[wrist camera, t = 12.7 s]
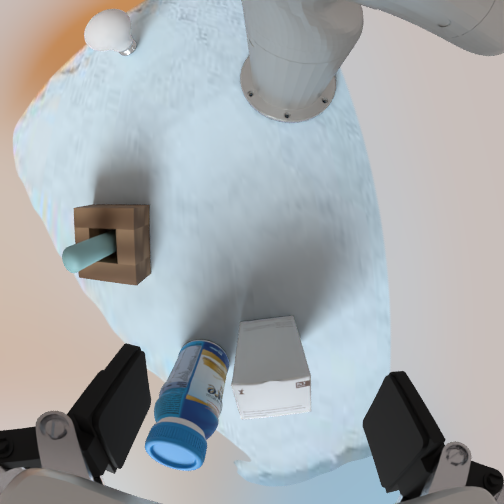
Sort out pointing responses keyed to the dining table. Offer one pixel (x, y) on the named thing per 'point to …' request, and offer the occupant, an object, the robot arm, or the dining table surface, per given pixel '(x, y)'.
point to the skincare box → (270, 369)
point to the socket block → (127, 237)
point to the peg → (89, 251)
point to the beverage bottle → (189, 406)
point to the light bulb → (110, 32)
